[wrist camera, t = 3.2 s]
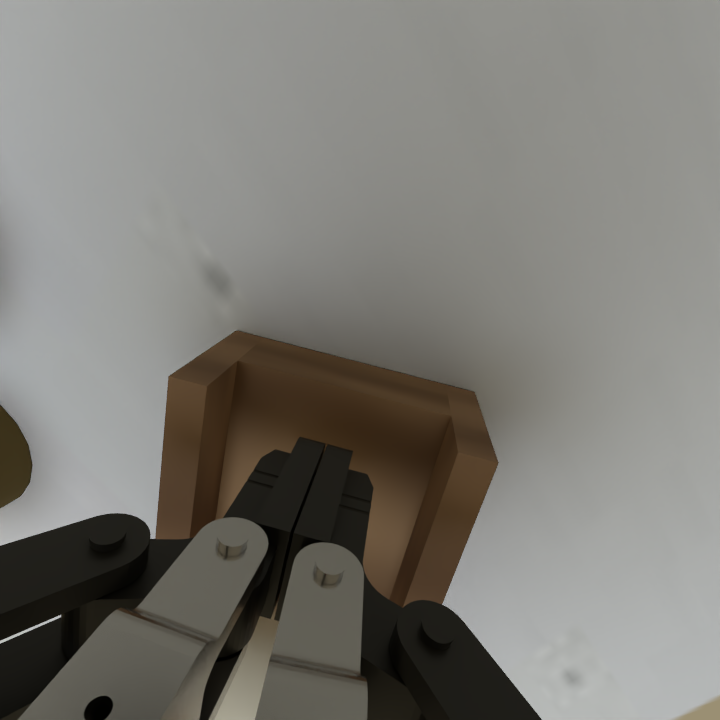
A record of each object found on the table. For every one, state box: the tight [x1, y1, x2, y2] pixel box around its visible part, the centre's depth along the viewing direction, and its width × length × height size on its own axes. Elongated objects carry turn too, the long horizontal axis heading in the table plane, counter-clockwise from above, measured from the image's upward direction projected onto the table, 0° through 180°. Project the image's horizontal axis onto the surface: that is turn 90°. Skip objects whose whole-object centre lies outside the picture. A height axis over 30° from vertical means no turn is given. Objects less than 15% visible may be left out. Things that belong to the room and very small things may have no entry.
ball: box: [214, 601, 279, 720], centre depth 14 cm, size 5×5×5 cm
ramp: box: [155, 331, 498, 608], centre depth 16 cm, size 22×8×4 cm, turn 167°
